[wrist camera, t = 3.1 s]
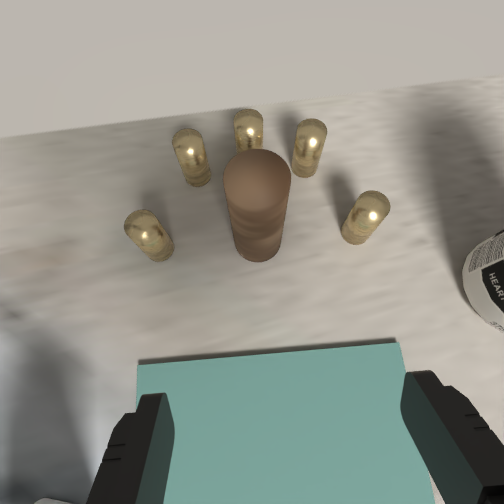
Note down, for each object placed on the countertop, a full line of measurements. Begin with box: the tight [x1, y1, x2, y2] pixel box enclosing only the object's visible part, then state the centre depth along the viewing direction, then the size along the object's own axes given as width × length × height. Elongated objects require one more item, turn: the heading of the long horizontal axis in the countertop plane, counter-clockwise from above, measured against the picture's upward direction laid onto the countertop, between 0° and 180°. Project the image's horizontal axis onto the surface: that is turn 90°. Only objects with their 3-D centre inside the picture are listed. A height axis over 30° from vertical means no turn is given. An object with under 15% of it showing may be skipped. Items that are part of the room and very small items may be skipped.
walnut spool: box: [223, 149, 291, 262], centre depth 24 cm, size 4×4×10 cm
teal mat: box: [136, 342, 435, 504], centre depth 23 cm, size 20×13×1 cm, turn 95°
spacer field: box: [124, 109, 390, 262], centre depth 28 cm, size 19×11×5 cm, turn 95°
